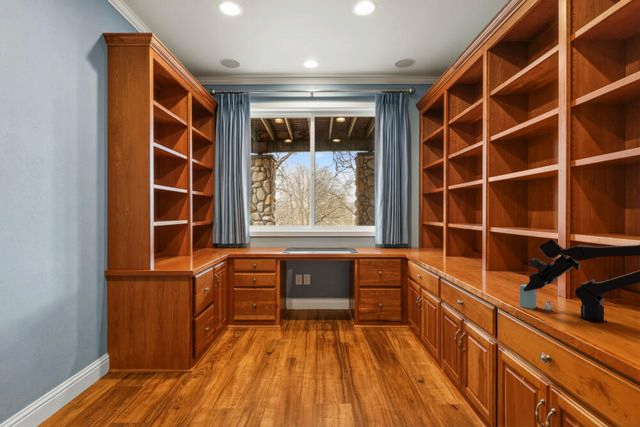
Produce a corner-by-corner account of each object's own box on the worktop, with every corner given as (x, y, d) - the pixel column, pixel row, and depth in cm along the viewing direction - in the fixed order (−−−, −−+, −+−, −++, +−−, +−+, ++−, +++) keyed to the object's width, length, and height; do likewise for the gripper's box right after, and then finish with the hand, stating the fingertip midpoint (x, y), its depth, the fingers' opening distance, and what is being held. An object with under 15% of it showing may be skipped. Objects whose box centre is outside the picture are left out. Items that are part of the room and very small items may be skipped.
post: (554, 311, 136) (554, 302, 136) (548, 312, 135) (548, 302, 135) (548, 309, 139) (548, 300, 139) (542, 309, 138) (542, 300, 138)
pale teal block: (536, 306, 142) (536, 286, 142) (532, 309, 139) (532, 287, 139) (523, 304, 146) (523, 284, 146) (519, 306, 143) (519, 285, 143)
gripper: (549, 250, 144) (520, 271, 153) (535, 254, 132) (505, 276, 141) (570, 270, 139) (540, 291, 147) (558, 276, 126) (525, 298, 135)
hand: (527, 288), depth 143 cm, fingers open, 9 cm apart
